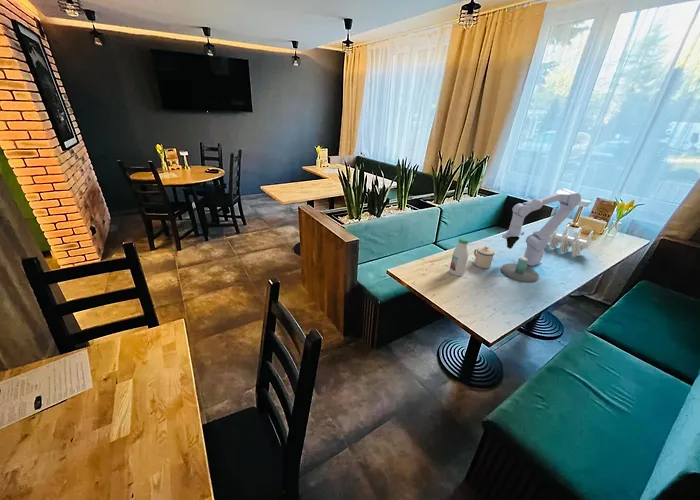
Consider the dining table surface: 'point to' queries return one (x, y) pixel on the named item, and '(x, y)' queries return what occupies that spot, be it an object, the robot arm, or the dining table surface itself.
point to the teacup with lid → (483, 257)
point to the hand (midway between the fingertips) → (509, 247)
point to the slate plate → (525, 277)
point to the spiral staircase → (569, 241)
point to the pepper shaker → (521, 265)
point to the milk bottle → (459, 258)
